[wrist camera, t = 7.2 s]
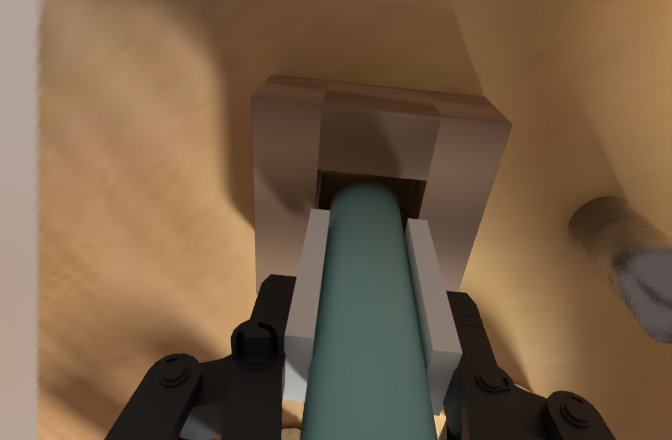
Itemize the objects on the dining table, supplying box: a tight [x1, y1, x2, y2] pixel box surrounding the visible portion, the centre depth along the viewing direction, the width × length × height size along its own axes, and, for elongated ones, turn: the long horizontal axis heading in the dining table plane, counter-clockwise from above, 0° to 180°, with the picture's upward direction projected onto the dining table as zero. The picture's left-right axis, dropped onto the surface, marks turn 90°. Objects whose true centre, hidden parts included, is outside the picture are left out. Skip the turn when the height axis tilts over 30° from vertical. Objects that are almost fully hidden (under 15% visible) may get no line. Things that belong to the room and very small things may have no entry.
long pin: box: [300, 179, 437, 440], centre depth 13 cm, size 3×3×14 cm
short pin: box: [569, 197, 672, 343], centre depth 19 cm, size 3×3×7 cm
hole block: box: [252, 76, 512, 294], centre depth 20 cm, size 10×10×4 cm
